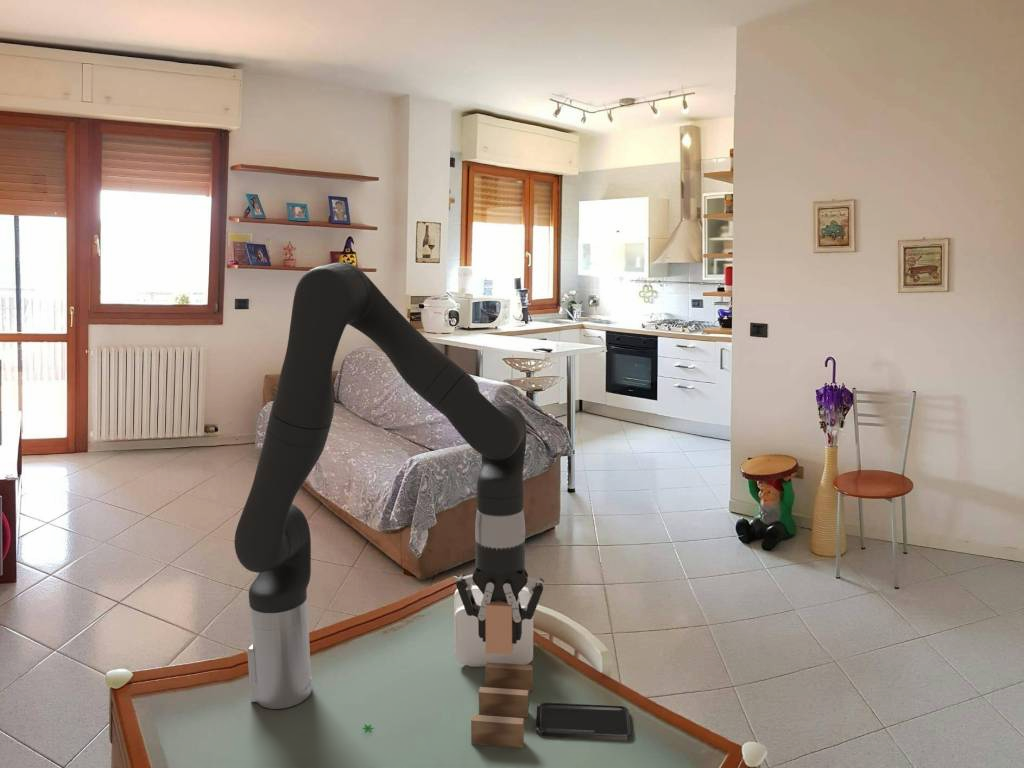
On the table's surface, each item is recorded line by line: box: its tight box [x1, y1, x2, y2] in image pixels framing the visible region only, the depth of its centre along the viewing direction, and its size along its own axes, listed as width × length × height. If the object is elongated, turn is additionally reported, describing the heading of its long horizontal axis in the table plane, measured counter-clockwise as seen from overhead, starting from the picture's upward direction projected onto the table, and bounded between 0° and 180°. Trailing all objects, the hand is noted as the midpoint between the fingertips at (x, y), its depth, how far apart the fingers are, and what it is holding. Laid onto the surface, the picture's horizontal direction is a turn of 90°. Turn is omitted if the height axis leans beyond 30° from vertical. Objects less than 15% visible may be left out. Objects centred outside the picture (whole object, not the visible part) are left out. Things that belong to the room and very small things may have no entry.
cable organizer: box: [453, 584, 534, 668], centre depth 145 cm, size 15×11×12 cm
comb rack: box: [470, 662, 534, 748], centre depth 127 cm, size 8×16×4 cm, turn 173°
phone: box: [535, 702, 632, 741], centre depth 125 cm, size 8×1×15 cm
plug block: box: [485, 600, 514, 655], centre depth 120 cm, size 4×4×8 cm
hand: (500, 639), depth 121 cm, fingers closed on plug block, 4 cm apart
